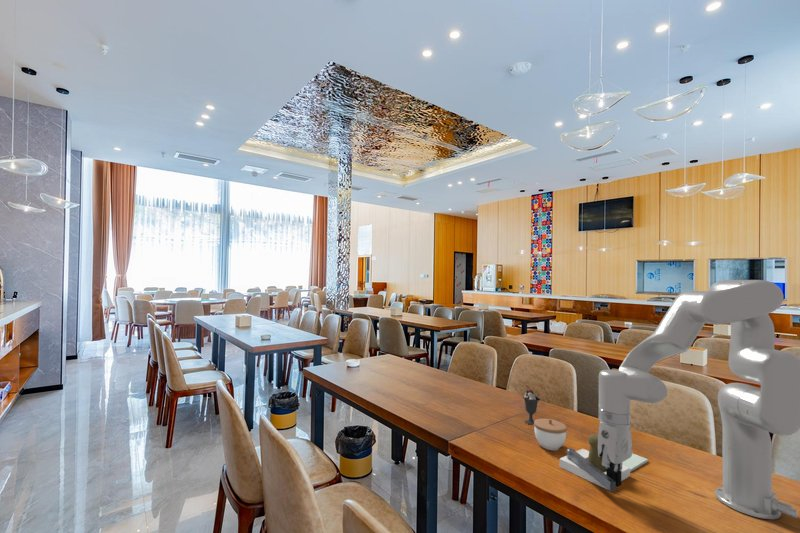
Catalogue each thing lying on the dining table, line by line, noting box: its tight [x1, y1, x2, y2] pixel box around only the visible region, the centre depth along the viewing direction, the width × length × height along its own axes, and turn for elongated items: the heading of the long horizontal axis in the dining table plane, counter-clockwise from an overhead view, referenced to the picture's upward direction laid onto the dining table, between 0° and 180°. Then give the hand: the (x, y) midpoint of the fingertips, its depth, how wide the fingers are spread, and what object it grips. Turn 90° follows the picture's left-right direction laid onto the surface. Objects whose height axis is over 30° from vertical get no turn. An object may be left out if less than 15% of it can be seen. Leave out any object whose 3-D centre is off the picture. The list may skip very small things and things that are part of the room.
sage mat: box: [622, 452, 649, 473], centre depth 119 cm, size 13×13×1 cm
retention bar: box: [566, 447, 617, 492], centre depth 104 cm, size 19×2×2 cm, turn 8°
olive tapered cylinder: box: [587, 433, 606, 473], centre depth 110 cm, size 6×6×11 cm
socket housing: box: [558, 448, 631, 491], centre depth 110 cm, size 14×14×3 cm
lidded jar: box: [533, 418, 568, 451], centre depth 127 cm, size 11×11×9 cm
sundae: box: [522, 385, 541, 425], centre depth 148 cm, size 7×7×15 cm
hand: (613, 483), depth 98 cm, fingers closed
